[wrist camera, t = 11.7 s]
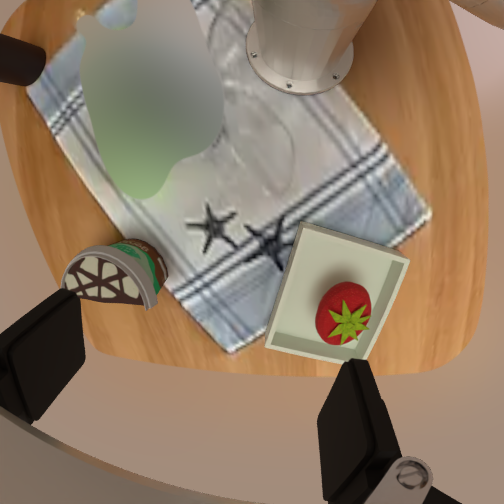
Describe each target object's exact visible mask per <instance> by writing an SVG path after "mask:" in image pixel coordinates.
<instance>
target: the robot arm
mask: <svg viewBox="0 0 504 504" xmlns="http://www.w3.org/2000/svg"><path fill="white" fill-rule="evenodd" d="M449 1H451V2H453V3H455V4H457V5H458V6H460V7H462V8H463V9H465V10H467V11H468V12H470V13H472V14H473V15H475V16H477V17H479V18H480V19H482V20H484V21H485V22H488V23H489V24H491V25H493V26H496V27H498V28H501V29H503V30H504V0H449ZM376 2H377V0H252V5H253V11H254V17H255V21H254V23H253V24H252V25H251V27H250V29H249V31H248V34H247V39H246V52H247V56H248V59H249V62H250V65H251V66H252V68H253V69H254V71H255V73H256V74H257V75H258V76H259V77H260V78H261V79H262V80H263V81H264V82H266V83H267V84H269V85H270V86H272V87H274V88H276V89H278V90H280V91H283V92H286V93H289V94H296V95H313V94H318V93H322V92H324V91H327V90H330V89H331V88H333V87H334V86H336V85H337V84H339V83H340V82H341V81H342V80H343V79H344V77H345V76H346V75H347V73H348V72H349V70H350V68H351V66H352V62H353V58H354V47H353V43H352V40H353V38H354V37H355V35H356V34H357V32H358V30H359V29H360V27H361V26H362V24H363V23H364V21H365V19H366V18H367V16H368V15H369V13H370V12H371V10H372V8H373V7H374V5H375V3H376ZM253 56H257V57H256V58H253ZM333 76H335V77H336V80H335V79H333ZM288 85H290V86H291V88H287V86H288ZM84 362H85V347H84V338H83V328H82V316H81V302H80V298H79V297H78V296H77V293H76V292H74V291H71V290H68V289H65V288H61V289H59V290H58V291H56V292H55V293H54V294H52V295H51V296H49V297H48V298H47V299H45V300H44V301H43V302H41V303H40V304H39V305H37V306H36V307H35V308H33V309H32V310H31V311H29V312H28V313H27V314H25V315H24V316H23V317H21V318H20V319H19V320H17V321H16V322H15V323H14V324H12V325H11V326H10V327H9V328H7V329H6V330H5V331H3V332H2V333H1V334H0V504H264V503H256V502H249V501H242V500H236V499H230V498H225V497H220V496H214V495H210V494H205V493H201V492H197V491H192V490H189V489H184V488H181V487H177V486H174V485H170V484H166V483H163V482H159V481H156V480H153V479H150V478H147V477H144V476H141V475H138V474H135V473H132V472H130V471H127V470H124V469H122V468H119V467H116V466H114V465H111V464H109V463H106V462H104V461H101V460H99V459H97V458H94V457H92V456H90V455H88V454H85V453H83V452H81V451H79V450H77V449H75V448H73V447H70V446H68V445H66V444H64V443H63V442H61V441H59V440H57V439H55V438H53V437H51V436H49V435H47V434H45V433H44V432H42V431H40V430H38V429H37V428H35V427H33V426H31V424H32V423H33V421H34V420H35V421H37V420H39V419H40V417H41V416H42V415H43V414H44V412H45V411H46V410H47V409H48V407H49V406H50V405H51V403H52V402H53V401H54V400H55V398H56V397H57V396H58V394H59V393H60V392H61V391H62V390H63V388H64V387H65V386H66V385H67V384H68V382H69V381H70V380H71V379H72V377H73V376H74V375H75V374H76V373H77V371H78V370H79V369H80V368H81V366H82V365H83V364H84ZM317 427H318V439H319V450H320V462H321V474H322V488H323V499H324V500H325V501H328V504H462V503H460V502H458V501H456V500H455V499H453V498H451V497H450V496H448V495H446V494H444V493H443V492H441V491H439V490H438V489H436V488H435V487H433V486H431V485H432V481H433V474H432V472H431V469H430V468H429V466H427V464H426V463H425V462H423V461H422V460H421V459H418V458H416V457H410V456H407V457H402V454H401V451H400V448H399V445H398V441H397V438H396V436H395V432H394V429H393V426H392V423H391V420H390V417H389V414H388V411H387V408H386V405H385V403H384V401H383V400H382V399H381V396H380V393H379V390H378V388H377V385H376V382H375V379H374V376H373V373H372V371H371V368H370V365H369V363H368V361H367V360H363V359H355V358H351V359H350V360H349V361H348V362H346V361H345V362H344V363H343V364H342V367H341V369H340V371H339V373H338V375H337V378H336V380H335V382H334V384H333V386H332V389H331V391H330V393H329V395H328V397H327V399H326V401H325V403H324V405H323V407H322V409H321V411H320V413H319V415H318V419H317Z"/></svg>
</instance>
